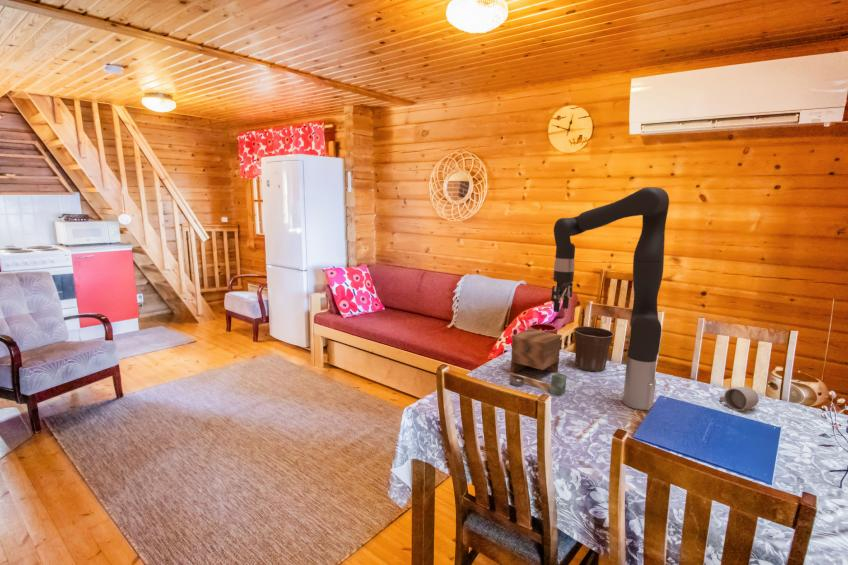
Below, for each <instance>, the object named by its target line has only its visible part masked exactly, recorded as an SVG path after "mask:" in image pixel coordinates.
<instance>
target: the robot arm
mask: <svg viewBox="0 0 848 565" xmlns="http://www.w3.org/2000/svg"><path fill="white" fill-rule="evenodd" d="M669 207H670V197H669V195H668V192H667V191H666V190H665V189H663V188H661V187H658V186H657V187H655V186H654V187H653V186H649V187H648V186H646V187H643V188H641V189H639V190H638V191H635V192H633V193H631V194H629V195H627V196H625V197H623V198H621V199H619V200H617V201H614V202H611V203H609V204H605V205H601V206H598V207H595V208H592V209H589V210H586V211H583V212H581V213H580V214H579V215H577V216H574V217H561V218H558V219H557V220H556V222H555V224H554V225H553V235H554V243H555V247H556V248H555V258H554V259H555V260H554V265H553V277H552V280H553V281H554V282H555V283H556V285H552V287H551V302H553V312H555V313H559V312H560V309H561V302H562V308H563V309H565V310H567V309H569V306H570V300H571V298H572V297H573V287H574V286H573V282H574V277H575V264H576V263H575V254H576V245H575V244H574V243H573V242H571V237H574V236H577V235H581V234H582V233H585V232H587V231H591V230H595V229H599V228H601V227H605V226H607V225H611V223H615V222H616V221H618V220H622V219H624V218H629V217H638V216H642V225H641V227H642V228H641V233H640V236H639V238H638V242H637V244H636V245H635V246H636V247H635V249H634V253H633V257H632V258H633V260H632V283H633V285H632V287H633V303H632V310H631V316H630V321H629V326H630V333H629V334H630V336H629V343H628V349H627V357H626V364H625V375H624V377H625V378H624V384H623V385H624V386H623V396H622V403H623V404H624V405H625V406H627V407H629V408H632V409H635V410H640V411H641V410H645V411H650V410H651V408H652V407H653V406H654V400H655V393H656V392H655V391H656V385H657V384H656V383H657V380H656V379H655V378H656V368H657V361H658V355H659V353H660V345H661V340H662V339H661V338H662V331H663V330H662V324H661V322H660V320H659V314H658V296H659V291H660V288H661V284H662V281H663V276H664V275H663V274H664V264H665V263H664V261H665V241H666V240H665V235H666V234H665V233H666V225H667V224H666V222H667V217H668V213H669V212H668V211H669Z"/></svg>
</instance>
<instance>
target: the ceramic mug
mask: <svg viewBox="0 0 848 565" xmlns="http://www.w3.org/2000/svg"><path fill="white" fill-rule="evenodd" d="M719 401H720V402H723V403H724V402H725V404H726V405H727V407H728V408H729V409H731V410H734V411H737V412H741V411H744V410H748V409H752V408H754V407H756V406H757V405H758V404H759V401H760V400H759V395H758V393H757V392H756V390H754V389H752V388H750V387H747V386H740V387H733V388H732V387H731V388H729V389H727V390H726V391H725V393H724V395H723V396H720V397H719Z"/></svg>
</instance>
